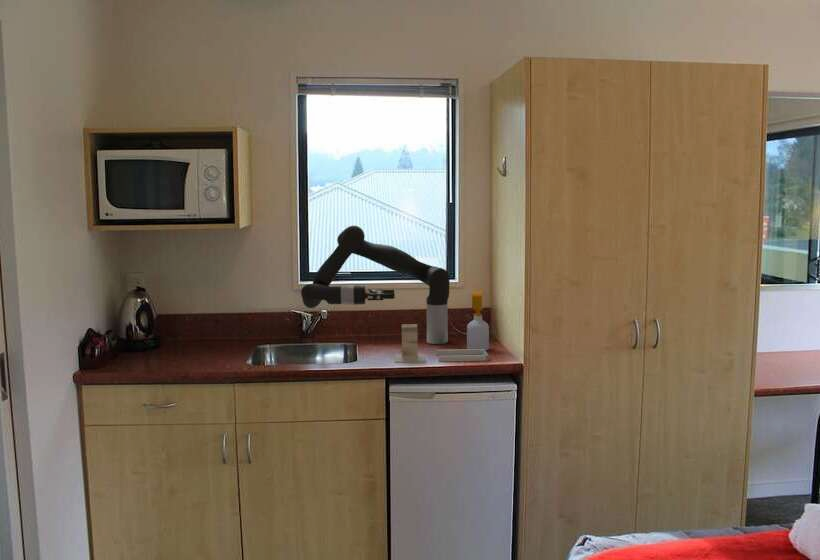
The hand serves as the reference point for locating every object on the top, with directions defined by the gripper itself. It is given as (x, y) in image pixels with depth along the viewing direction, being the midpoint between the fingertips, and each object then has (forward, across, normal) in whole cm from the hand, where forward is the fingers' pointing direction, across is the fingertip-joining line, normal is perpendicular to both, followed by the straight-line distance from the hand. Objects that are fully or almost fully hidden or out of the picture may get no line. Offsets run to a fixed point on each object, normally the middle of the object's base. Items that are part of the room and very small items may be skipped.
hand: (394, 294), depth 252 cm
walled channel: (+26, -1, +26) cm, 37 cm away
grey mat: (+6, -1, +26) cm, 26 cm away
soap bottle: (+35, +13, +26) cm, 45 cm away
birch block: (+6, -1, +26) cm, 26 cm away
